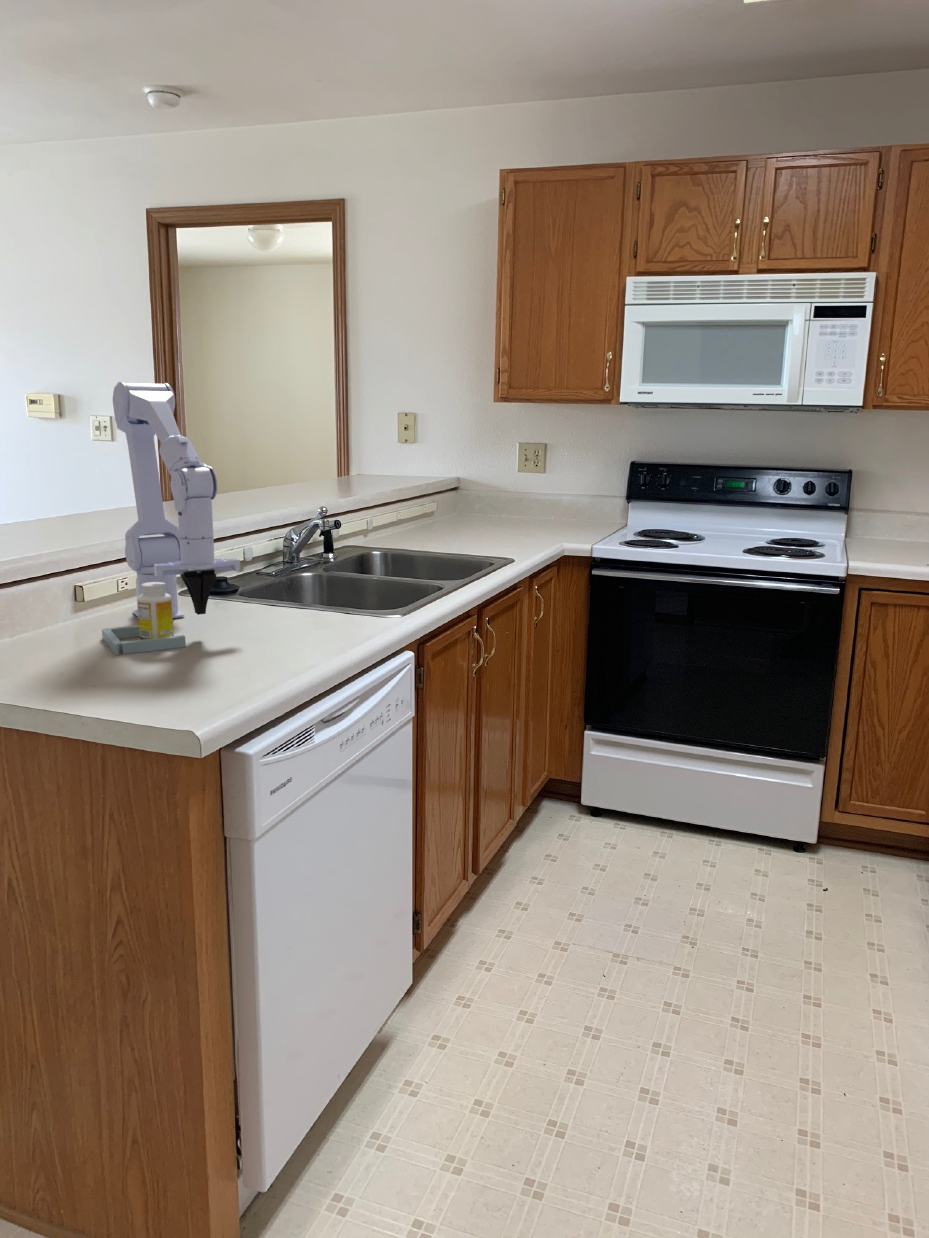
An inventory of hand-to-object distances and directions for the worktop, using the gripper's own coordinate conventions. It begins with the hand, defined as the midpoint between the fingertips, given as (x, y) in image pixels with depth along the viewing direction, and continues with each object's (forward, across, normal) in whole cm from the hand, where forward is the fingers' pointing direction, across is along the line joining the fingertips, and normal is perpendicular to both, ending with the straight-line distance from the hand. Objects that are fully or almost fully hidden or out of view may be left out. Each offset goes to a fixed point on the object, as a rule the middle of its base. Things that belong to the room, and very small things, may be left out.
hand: (200, 613), depth 162 cm
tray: (+4, -10, 0) cm, 11 cm away
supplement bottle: (+4, -8, 0) cm, 9 cm away
